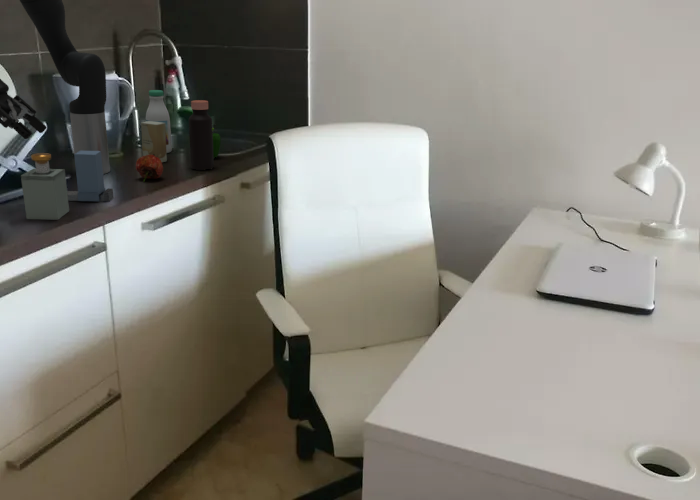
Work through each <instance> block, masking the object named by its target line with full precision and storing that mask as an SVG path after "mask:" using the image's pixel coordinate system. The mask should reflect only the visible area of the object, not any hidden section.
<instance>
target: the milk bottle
mask: <svg viewBox="0 0 700 500" xmlns="http://www.w3.org/2000/svg"><path fill="white" fill-rule="evenodd" d="M148 96H149V103H148V107H147V109H146V111H145V112H146V113H145V122H146V121H155V122H162V123H165V126H166V154H168V153H171V152H172V150H173V149H172V147H173V146H172V131H171V130H172V129H171V128H172V127H171V119H170V113H169V110H168V109H167V107H166V104H165V101H164V98H165V94H164V91H163V90H160V89H150V90H148Z"/></svg>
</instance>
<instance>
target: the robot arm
mask: <svg viewBox="0 0 700 500" xmlns="http://www.w3.org/2000/svg"><path fill="white" fill-rule="evenodd" d="M19 2H20V3H21V6H22V7H23V9H24V11H25V13H26V14H27V16H29V18H30V20H31V21H32V23H33V25H34V27H35V28H36V30H37V32H38V34H39V36H40V38H41V39H42V40H43V43H44V44H45V47H46V49H47V50H48V52H49V55H50V57H51V59H52V61H53V64H54V66H55V67H56V70H57V72H58V74H59V76H60V77H61V79H62V80H63V81H64V82H65V83H66V84H67V85H69V86H72V87H78V96H77V98H76V99H75V98H74V99H73V100H71V101H70V102H69V103H68V106H69V116H70V117H69V118H70V125H71V134H72V135H71V136H72V143H73V144H72V145H73V152H74V154H75V153H77V152H79V151H101V157H102V168H103V175H105V174H107V173H110V171H111V166H110V155H109V153H110V152H109V146H108V145H109V144H108V134H107V132H108V131H107V123H106V121H107V120H106V112H105V111H106V110H105V109H106V108H105V106H106V102H107V78H106V77H107V76H106V75H107V74H106V68H105V65H104V62H103V59H101V57H100V56H98V55H97V54H95V53H90V52H79V51H78V50H77V49H76V48H75V46H74V45H73V43H72V41H71V39H70V36H69V35H68V33H67V28H66V9H65V6H64V2H63V0H19ZM9 87H10V86H9V85H8V84H6V82H5V81H4V80H2V79H1V78H0V125H1V126H2V127H3V128H5V129H7V128H8V127H9V129H12V130H14V132H16V133H18V134H19V136H21V137H22V138H23V140H24V139H25V140H27V139H29V138H30V137H31V136H32V135H33V132H32V131H31V130H30V129H29V128H28V127H27V126H26V125H25V124H23V123H22V122H21V121H20V120H22V121H25V122H27V123H28V124H29V125H30V126H31V127H32V128H33V129H35V130H36V131H37V132H38V134H43V132H45V131H46V130H47V125H45V123H43V122H42V121H41V120H40V119H39V118H38V117H37V116H36V114H37V111H36V110H35V109H34V108H33V107H32V106H31V105H30V104H28V103H27V102H26V101H25V100H24V99H23V98H22V97H20V96H19V95H17V94H16V95H15V96H14V97H12V96H11V95H9V94H8V93H9V92H8V91H9V90H10V89H9Z"/></svg>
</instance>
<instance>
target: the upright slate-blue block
mask: <svg viewBox="0 0 700 500" xmlns="http://www.w3.org/2000/svg"><path fill="white" fill-rule="evenodd" d="M73 156H74V166H75V174H76V183H77V191H78V193H77V194H78V201H77V202H101V201H100V199H99V194H101V193H102V192H104V191H105V190H106V187H105V181H104V180H105V179H104V174H103V168H102V157H101V151H79V152H77V153H75V154H74V155H73Z"/></svg>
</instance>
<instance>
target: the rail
mask: <svg viewBox="0 0 700 500" xmlns="http://www.w3.org/2000/svg"><path fill="white" fill-rule="evenodd" d="M77 193H78V190H74V191H73V190H67V195H68V202H79V201H78V194H77ZM99 199H100V201H99V202H103V201H109V202H111V201H112V200H113V199H114V188H107V189H105V191H104V192H102V193H101V194H99ZM110 200H111V201H110Z"/></svg>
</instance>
